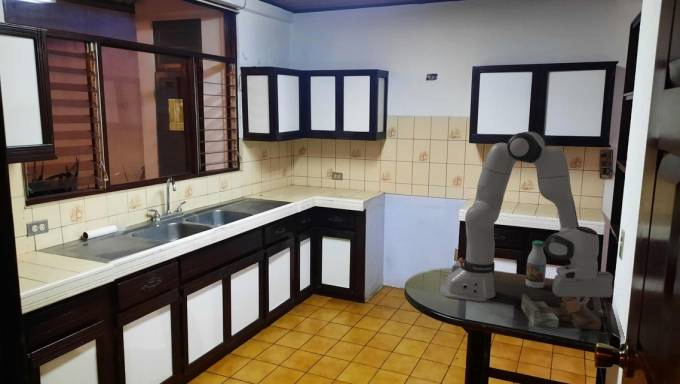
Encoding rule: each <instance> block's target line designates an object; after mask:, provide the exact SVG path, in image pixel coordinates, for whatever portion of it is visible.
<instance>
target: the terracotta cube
mask: <svg viewBox="0 0 680 384" xmlns="http://www.w3.org/2000/svg"><path fill="white" fill-rule="evenodd" d="M561 301H562V303H563V304H564V308H565V310H566V311H567V312H568V313H572V312H576V311H580V309H579V305H578V302H577V299H576V298H575V297H561Z"/></svg>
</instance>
